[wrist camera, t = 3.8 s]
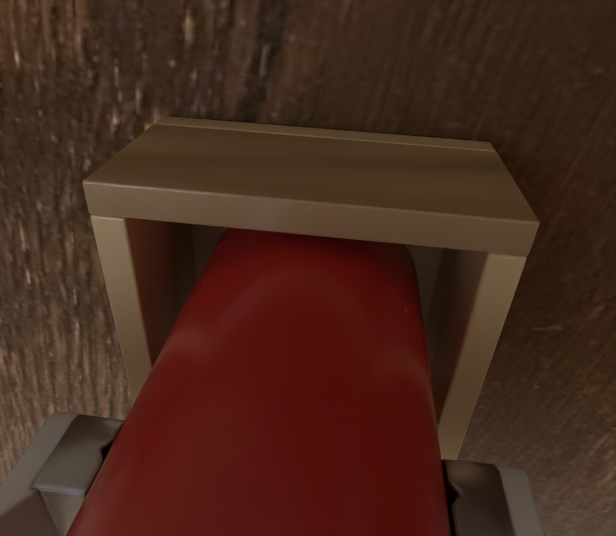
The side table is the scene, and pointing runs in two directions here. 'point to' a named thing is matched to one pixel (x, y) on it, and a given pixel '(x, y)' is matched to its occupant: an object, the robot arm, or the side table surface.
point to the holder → (315, 230)
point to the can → (283, 402)
